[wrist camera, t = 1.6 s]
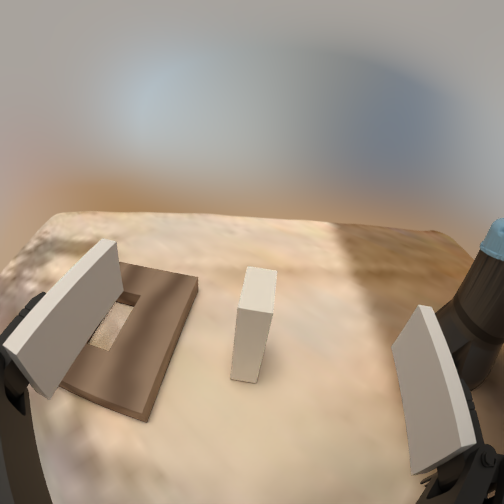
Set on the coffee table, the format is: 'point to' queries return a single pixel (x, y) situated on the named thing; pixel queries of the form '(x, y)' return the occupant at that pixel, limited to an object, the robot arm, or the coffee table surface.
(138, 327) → the brown slotted base plate
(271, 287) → the tall cream pillar
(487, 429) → the coffee table surface
